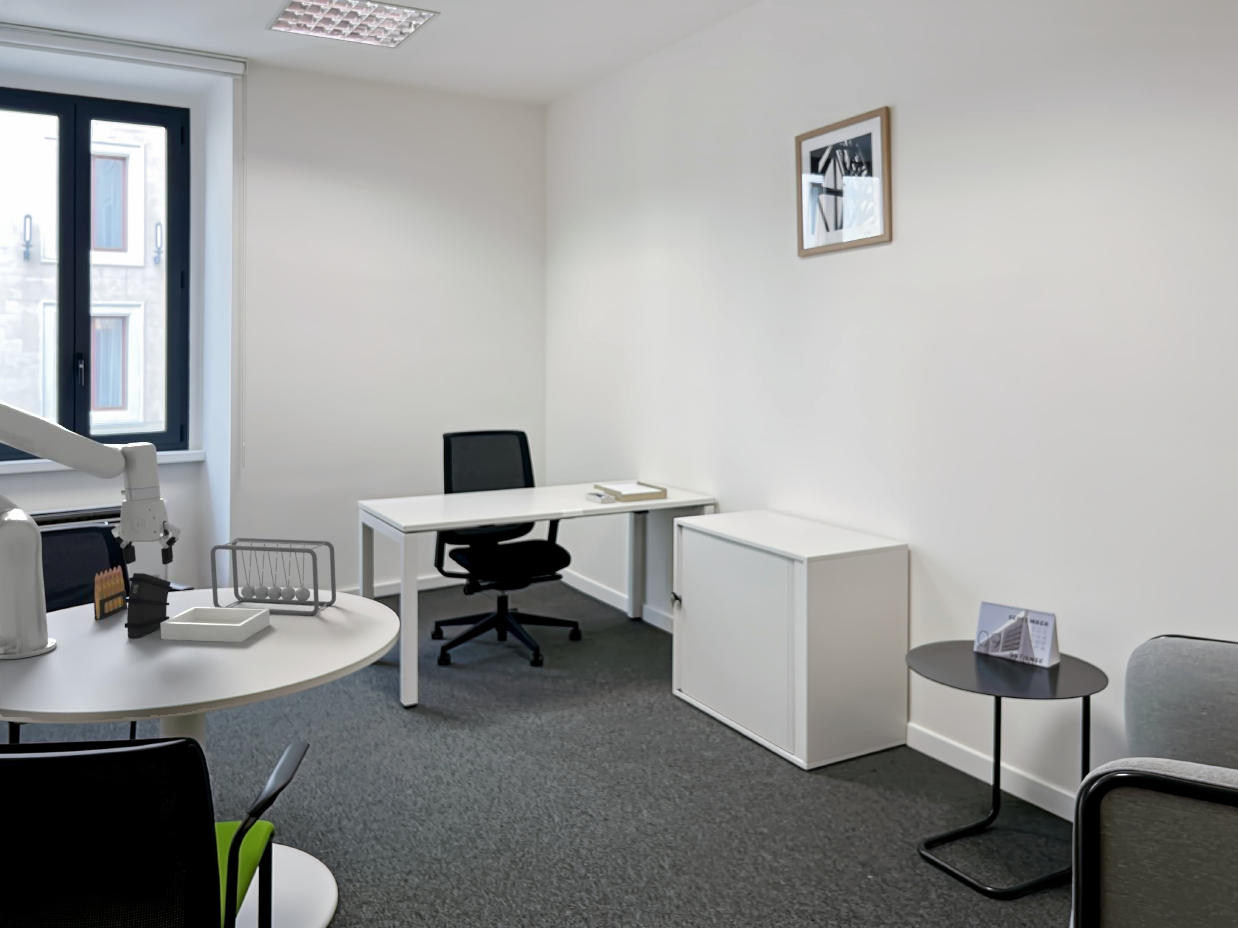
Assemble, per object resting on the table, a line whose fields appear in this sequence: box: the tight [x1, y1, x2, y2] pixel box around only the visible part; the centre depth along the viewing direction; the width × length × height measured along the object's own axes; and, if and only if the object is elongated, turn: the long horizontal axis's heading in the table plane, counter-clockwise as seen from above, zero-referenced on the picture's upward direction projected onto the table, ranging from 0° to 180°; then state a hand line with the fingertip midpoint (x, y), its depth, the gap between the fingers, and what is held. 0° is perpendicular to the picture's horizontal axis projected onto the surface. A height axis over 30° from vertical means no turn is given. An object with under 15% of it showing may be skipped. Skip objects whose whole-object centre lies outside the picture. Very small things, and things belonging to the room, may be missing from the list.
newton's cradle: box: [210, 537, 337, 616], centre depth 242 cm, size 30×10×18 cm, turn 80°
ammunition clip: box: [93, 564, 128, 621], centre depth 237 cm, size 11×2×12 cm, turn 174°
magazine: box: [124, 572, 173, 639], centre depth 223 cm, size 4×13×15 cm, turn 171°
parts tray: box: [160, 606, 271, 643], centre depth 222 cm, size 14×20×4 cm
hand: (149, 562), depth 222 cm, fingers open, 9 cm apart
